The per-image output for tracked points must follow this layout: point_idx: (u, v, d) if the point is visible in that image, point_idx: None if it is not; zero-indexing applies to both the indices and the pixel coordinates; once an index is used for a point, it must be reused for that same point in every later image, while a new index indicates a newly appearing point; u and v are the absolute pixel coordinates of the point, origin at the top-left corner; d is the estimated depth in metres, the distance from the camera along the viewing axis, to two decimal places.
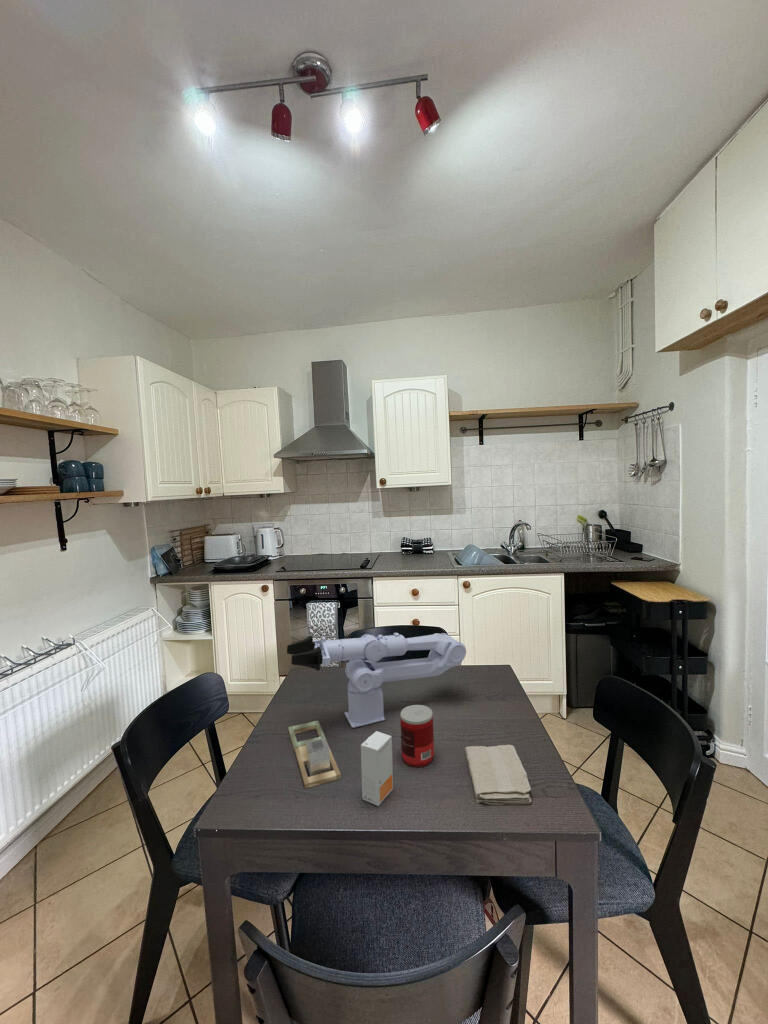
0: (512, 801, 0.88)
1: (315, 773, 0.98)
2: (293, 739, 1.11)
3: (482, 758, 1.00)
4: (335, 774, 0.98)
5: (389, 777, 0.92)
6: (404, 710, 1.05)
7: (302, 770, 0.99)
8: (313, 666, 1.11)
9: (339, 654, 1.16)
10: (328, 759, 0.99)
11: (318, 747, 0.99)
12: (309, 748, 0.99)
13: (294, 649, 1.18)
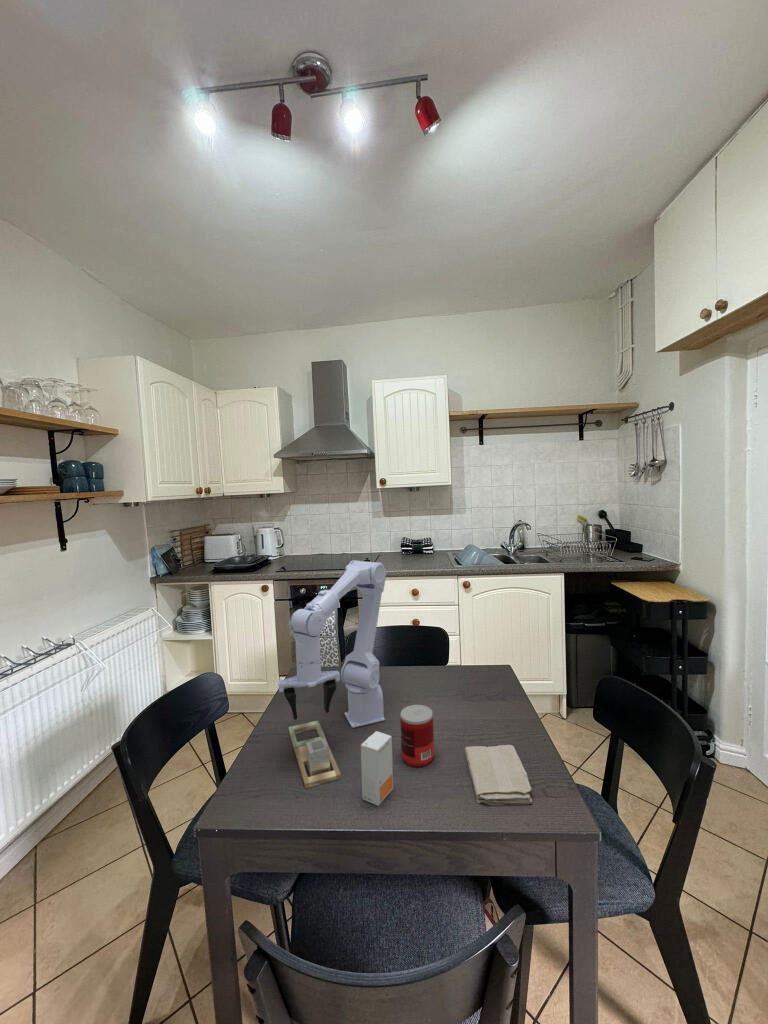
0: (513, 801, 0.88)
1: (315, 773, 0.98)
2: (293, 739, 1.11)
3: (483, 758, 0.99)
4: (335, 774, 0.98)
5: (389, 777, 0.92)
6: (404, 710, 1.05)
7: (302, 770, 0.99)
8: None
9: None
10: (328, 759, 0.99)
11: (318, 747, 0.99)
12: (309, 748, 0.99)
13: None
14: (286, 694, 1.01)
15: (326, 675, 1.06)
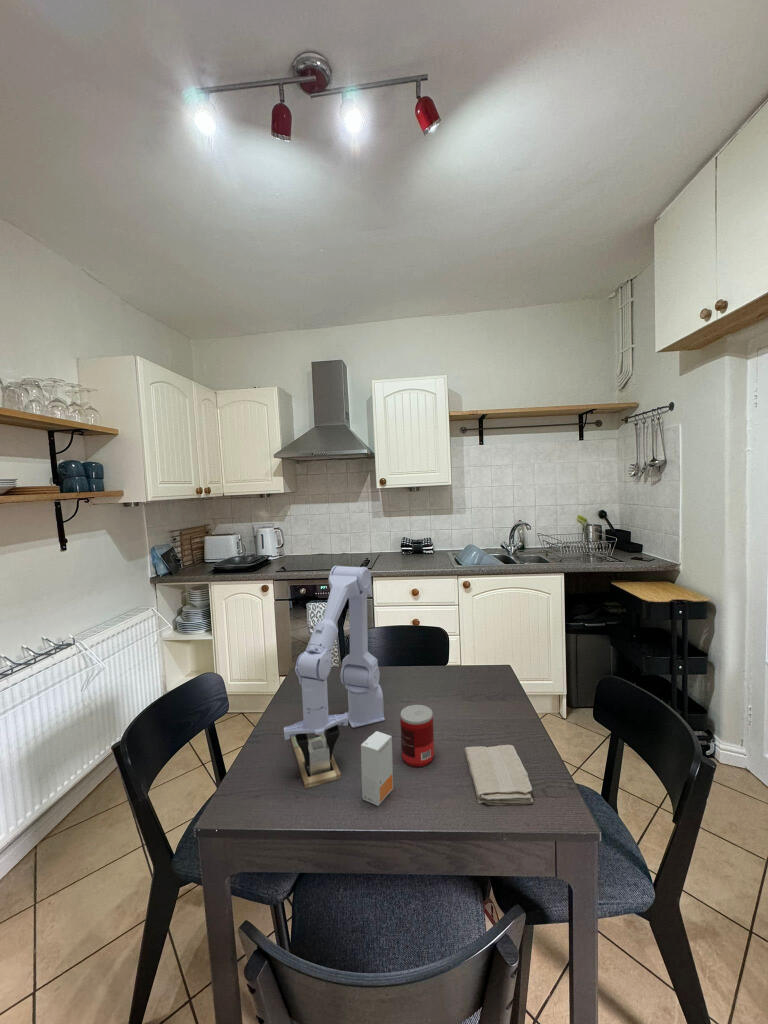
0: (514, 801, 0.88)
1: (315, 773, 0.98)
2: (293, 739, 1.11)
3: (483, 758, 0.99)
4: (335, 774, 0.98)
5: (389, 777, 0.92)
6: (404, 710, 1.05)
7: (302, 770, 0.99)
8: None
9: None
10: (328, 759, 0.99)
11: (318, 747, 0.99)
12: (309, 748, 0.99)
13: None
14: (298, 741, 0.97)
15: (334, 719, 1.01)
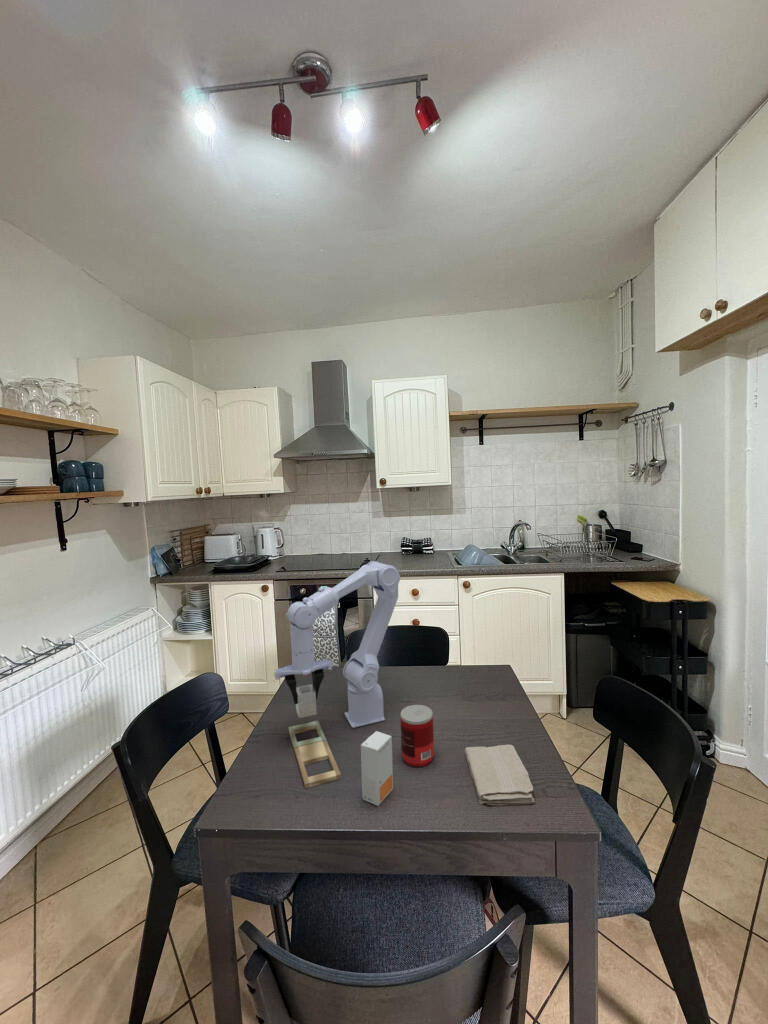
0: (515, 801, 0.88)
1: (302, 713, 1.10)
2: (293, 739, 1.11)
3: (483, 758, 0.99)
4: (335, 774, 0.98)
5: (389, 777, 0.92)
6: (404, 710, 1.05)
7: (302, 770, 0.99)
8: None
9: None
10: (314, 701, 1.11)
11: (306, 691, 1.11)
12: (297, 692, 1.11)
13: None
14: (287, 680, 1.10)
15: (319, 664, 1.14)
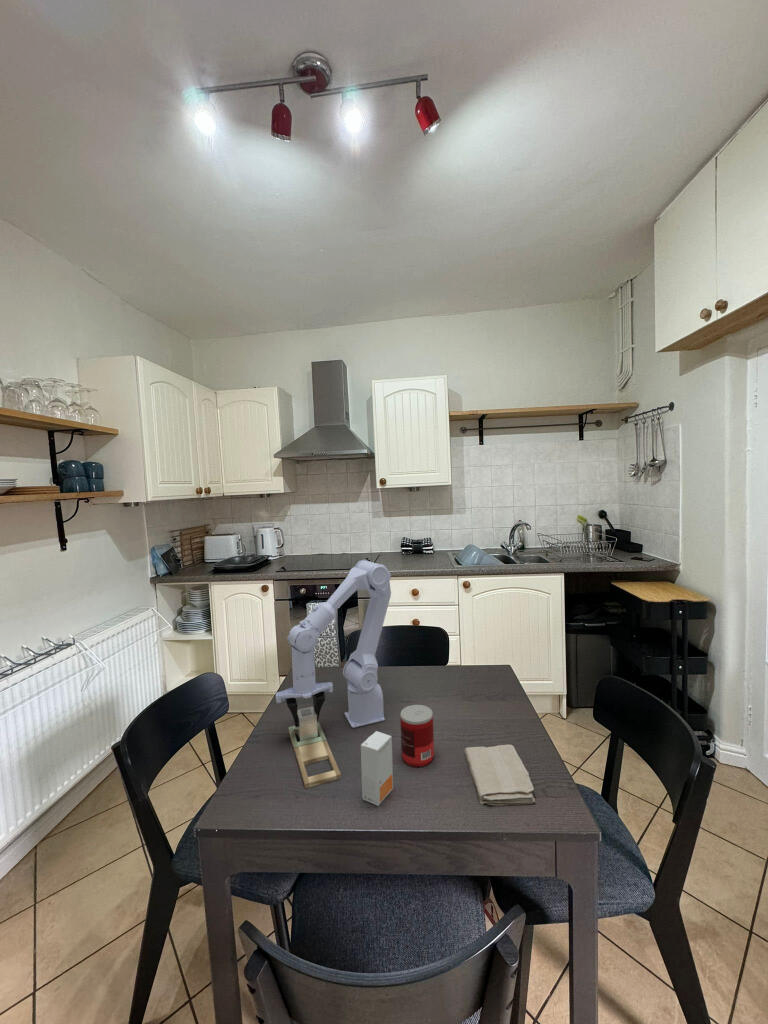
0: (516, 801, 0.88)
1: (303, 737, 1.11)
2: (293, 739, 1.11)
3: (483, 758, 0.99)
4: (335, 774, 0.98)
5: (389, 777, 0.92)
6: (404, 710, 1.05)
7: (302, 770, 0.99)
8: None
9: None
10: (315, 724, 1.12)
11: (307, 714, 1.12)
12: (299, 715, 1.12)
13: None
14: (288, 704, 1.10)
15: (320, 686, 1.14)
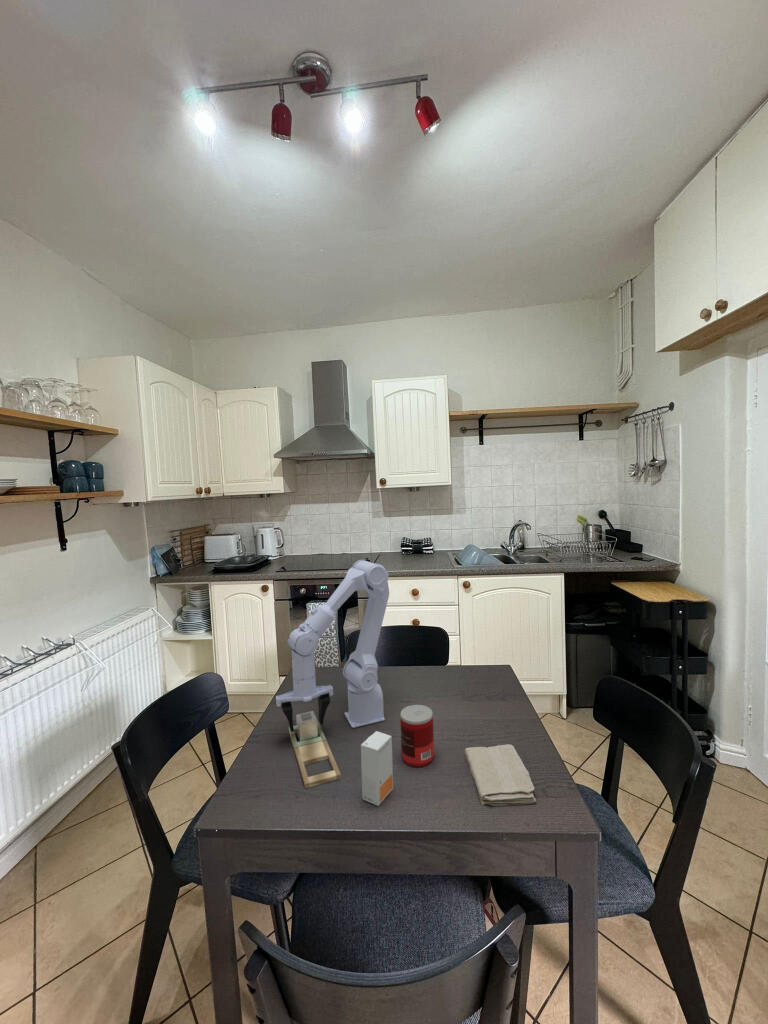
0: (517, 801, 0.88)
1: None
2: (293, 739, 1.11)
3: (484, 759, 0.99)
4: (335, 774, 0.98)
5: (389, 777, 0.92)
6: (404, 710, 1.05)
7: (302, 770, 0.99)
8: None
9: None
10: (316, 729, 1.12)
11: (307, 718, 1.12)
12: (299, 719, 1.12)
13: None
14: (283, 708, 1.10)
15: (320, 690, 1.14)
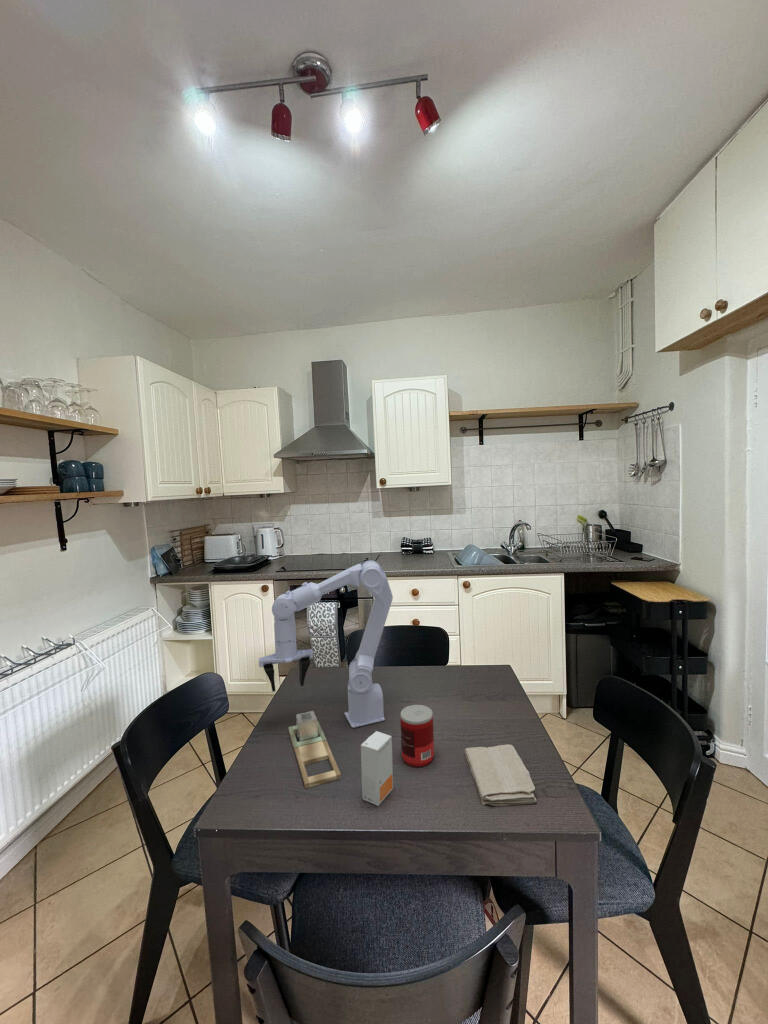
0: (518, 801, 0.88)
1: None
2: (293, 739, 1.11)
3: (484, 759, 0.99)
4: (335, 774, 0.98)
5: (389, 777, 0.92)
6: (404, 710, 1.05)
7: (302, 770, 0.99)
8: None
9: None
10: (316, 729, 1.12)
11: (307, 718, 1.12)
12: (299, 719, 1.12)
13: None
14: (265, 669, 1.16)
15: (301, 653, 1.21)
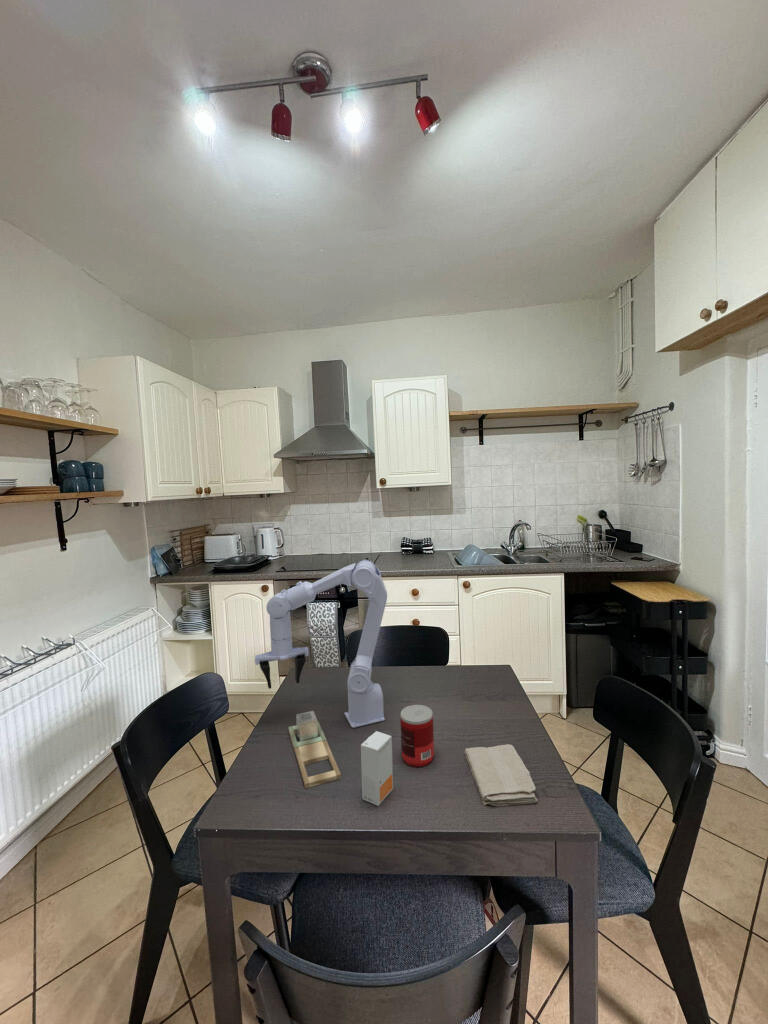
0: (518, 801, 0.88)
1: None
2: (293, 739, 1.11)
3: (484, 759, 0.99)
4: (335, 774, 0.98)
5: (389, 777, 0.92)
6: (404, 710, 1.05)
7: (302, 770, 0.99)
8: None
9: (291, 637, 1.22)
10: (316, 729, 1.12)
11: (307, 718, 1.12)
12: (299, 719, 1.12)
13: None
14: (261, 666, 1.18)
15: (297, 650, 1.23)
